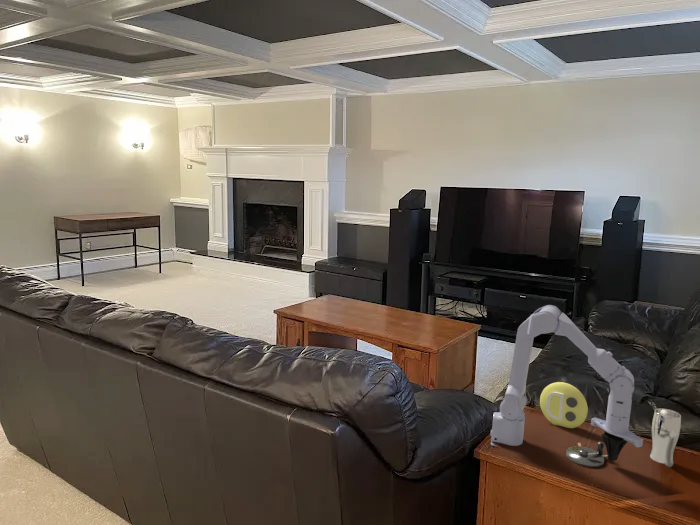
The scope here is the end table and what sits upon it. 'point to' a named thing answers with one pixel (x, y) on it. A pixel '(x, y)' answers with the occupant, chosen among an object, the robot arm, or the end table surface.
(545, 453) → the end table surface
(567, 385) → the emoji
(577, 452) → the cam dial
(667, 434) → the beer glass
